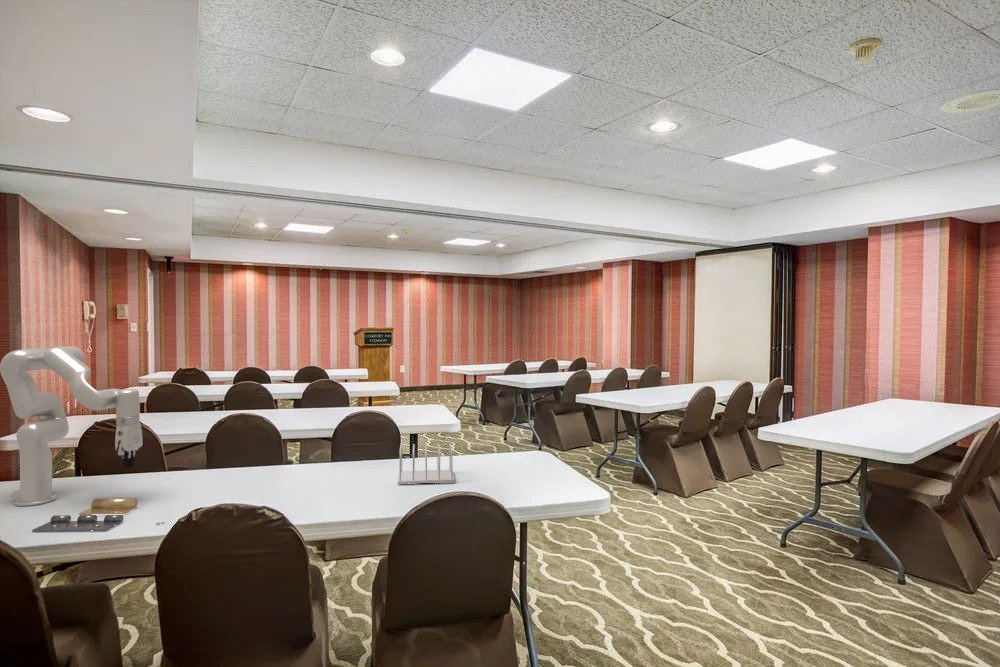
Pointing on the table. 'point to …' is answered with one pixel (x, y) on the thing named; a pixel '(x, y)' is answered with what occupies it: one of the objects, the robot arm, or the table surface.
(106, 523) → the steel hinge leaf
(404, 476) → the file sorter
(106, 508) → the bronze hinge leaf
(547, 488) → the table surface
